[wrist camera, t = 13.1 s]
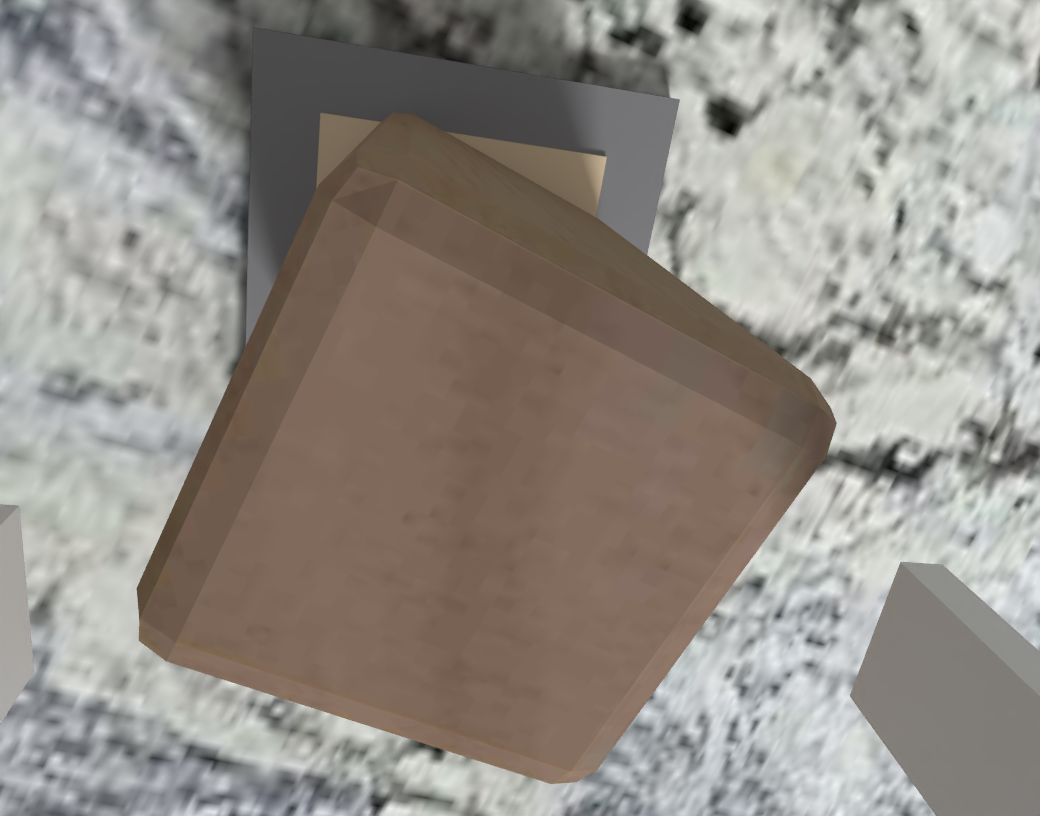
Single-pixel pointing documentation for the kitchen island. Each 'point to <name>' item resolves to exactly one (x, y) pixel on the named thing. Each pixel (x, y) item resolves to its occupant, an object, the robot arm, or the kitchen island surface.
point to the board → (452, 108)
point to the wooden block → (475, 467)
